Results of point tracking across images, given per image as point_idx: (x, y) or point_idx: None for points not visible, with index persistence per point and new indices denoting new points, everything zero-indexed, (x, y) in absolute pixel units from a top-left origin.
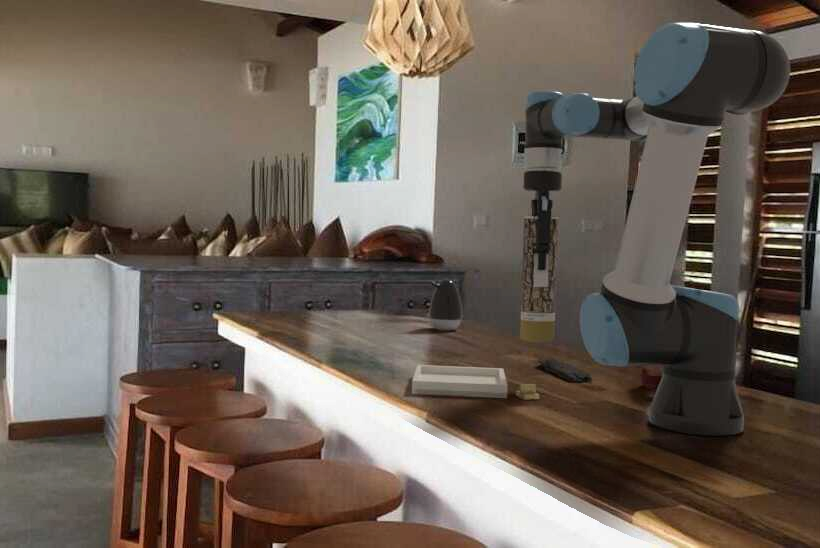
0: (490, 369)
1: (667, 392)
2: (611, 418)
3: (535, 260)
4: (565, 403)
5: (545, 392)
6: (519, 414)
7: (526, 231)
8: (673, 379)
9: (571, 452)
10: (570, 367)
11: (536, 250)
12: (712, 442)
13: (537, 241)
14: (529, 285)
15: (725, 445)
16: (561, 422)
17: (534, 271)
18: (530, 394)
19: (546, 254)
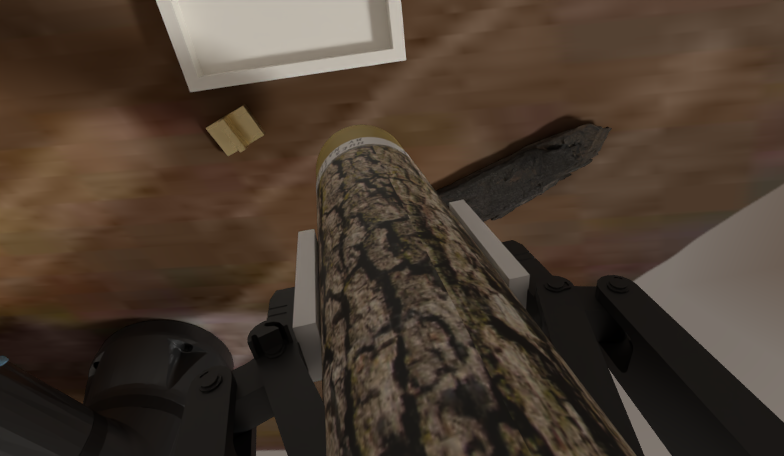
0: (391, 26)
1: (97, 380)
2: (139, 274)
3: (295, 304)
4: (218, 201)
5: (305, 159)
6: (52, 129)
7: (378, 390)
8: (86, 405)
9: None
10: (514, 194)
11: (254, 355)
12: (75, 383)
13: (182, 422)
14: (324, 214)
15: (69, 394)
16: (42, 207)
17: (296, 268)
18: (219, 139)
19: (308, 372)
